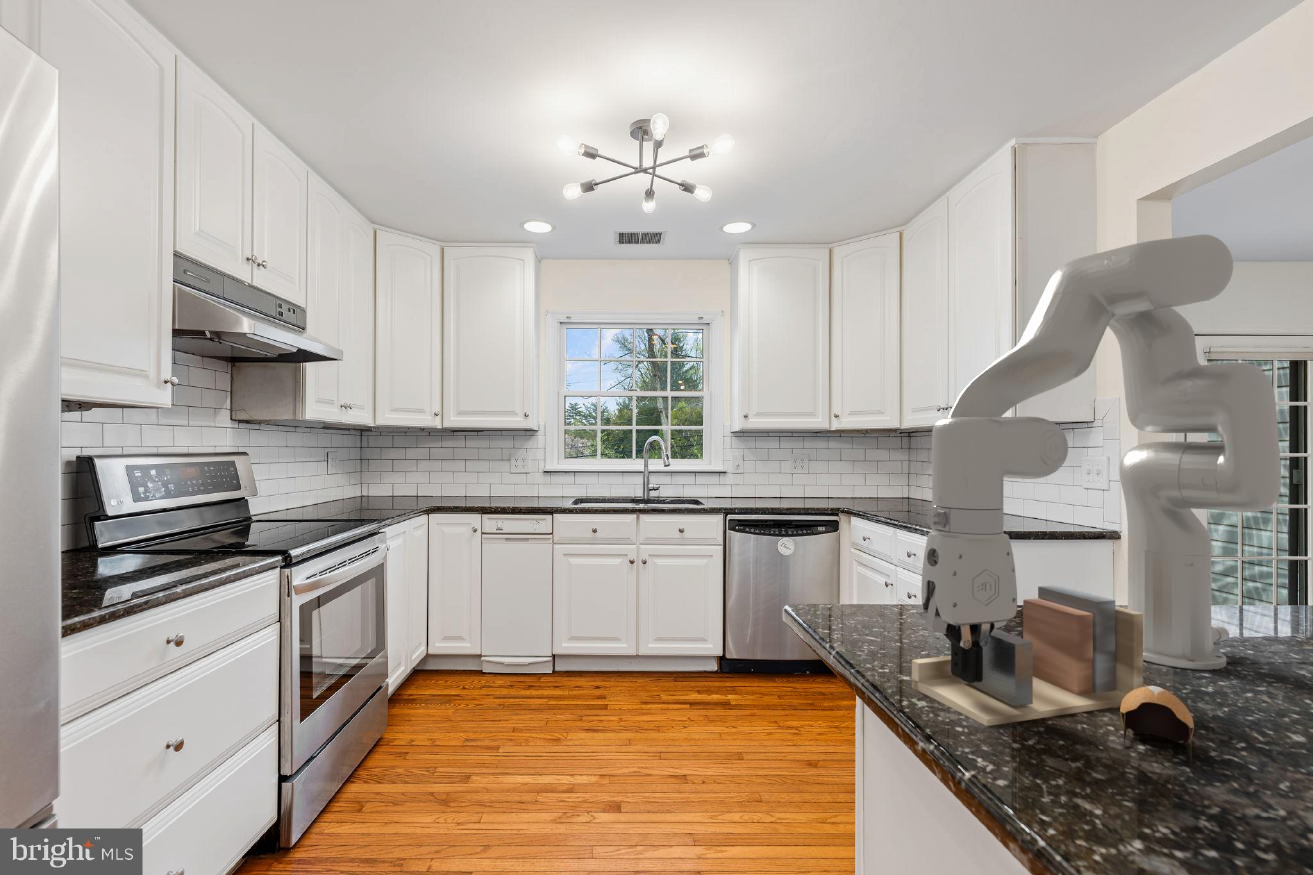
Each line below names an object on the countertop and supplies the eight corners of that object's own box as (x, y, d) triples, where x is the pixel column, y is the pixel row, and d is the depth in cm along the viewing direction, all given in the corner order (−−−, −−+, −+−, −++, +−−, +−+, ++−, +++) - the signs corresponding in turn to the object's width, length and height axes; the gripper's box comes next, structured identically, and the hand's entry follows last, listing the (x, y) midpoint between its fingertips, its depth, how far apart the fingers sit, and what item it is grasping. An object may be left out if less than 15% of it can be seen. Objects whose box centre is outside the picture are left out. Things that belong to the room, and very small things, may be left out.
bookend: (977, 677, 77) (977, 622, 77) (1032, 703, 69) (1032, 642, 69) (961, 679, 76) (961, 623, 76) (1015, 706, 69) (1015, 644, 69)
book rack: (1052, 669, 84) (1052, 581, 84) (1143, 705, 73) (1143, 603, 73) (911, 687, 78) (912, 591, 78) (986, 730, 66) (987, 617, 66)
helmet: (1195, 796, 59) (1190, 722, 64) (1199, 757, 56) (1193, 683, 61) (1119, 776, 63) (1120, 707, 68) (1119, 738, 59) (1120, 669, 64)
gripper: (936, 528, 66) (936, 698, 66) (1044, 524, 70) (1044, 683, 70) (892, 520, 73) (891, 673, 73) (992, 516, 78) (992, 661, 77)
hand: (966, 677), depth 72 cm, fingers closed
